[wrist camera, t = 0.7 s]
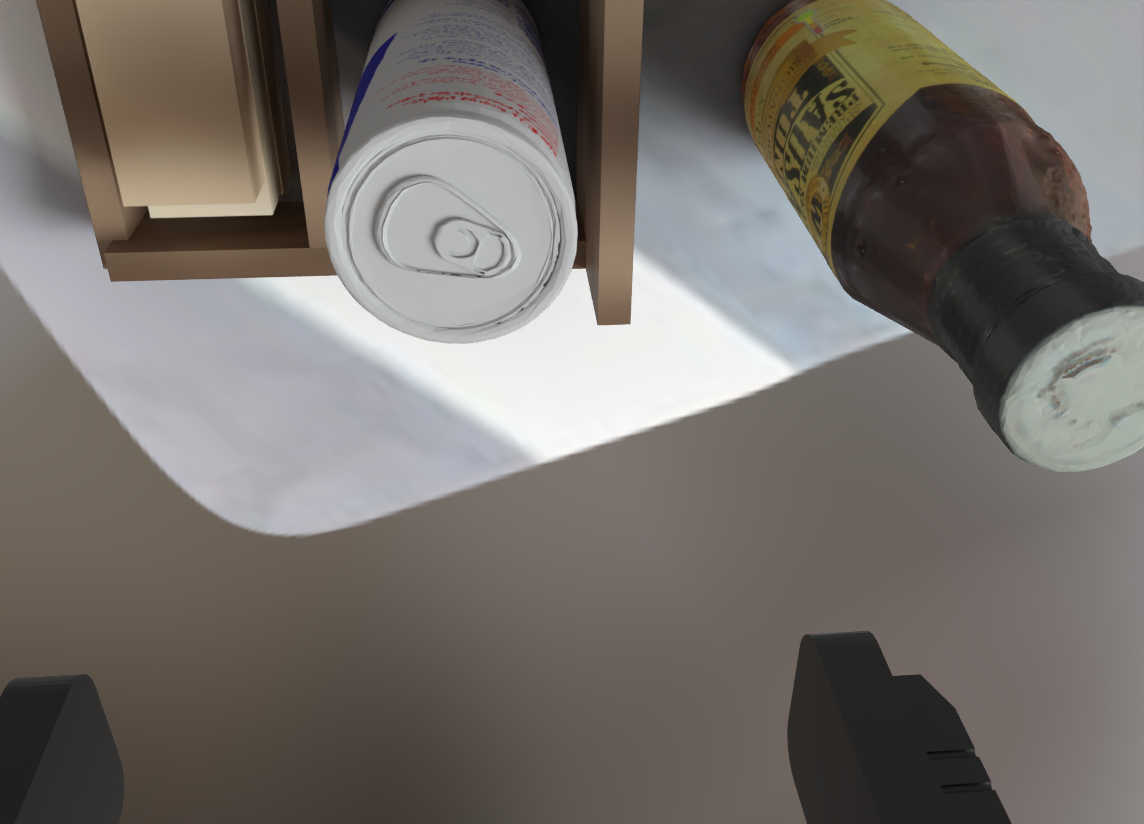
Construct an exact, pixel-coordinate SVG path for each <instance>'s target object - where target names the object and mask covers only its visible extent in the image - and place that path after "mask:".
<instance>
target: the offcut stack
mask: <svg viewBox="0 0 1144 824" xmlns="http://www.w3.org/2000/svg"><path fill="white" fill-rule="evenodd" d="M76 5H77V9H78V13H79V17H80V22H81V26H82V30H83V35H84V39H85V43H86V47H87V52H88V56H89V60H90V65H91V69H92V73H93V77H94V82H95V86H96V90H97V95H98V99H99V103H100V107H101V112H102V116H103V120H104V125H105V129H106V133H107V137H108V142H109V146H110V150H111V155H112V159H113V163H114V167H115V172H116V176H117V180H118V185H119V189H120V193H121V197H122V202H123V206H124V207H127V206H148V209H149V213H150V218H176V217H216V216H256V215H273V213H274V210H275V208H276V205H277V203H278V200H279V198H280V195H284V193H285V190H286V187H287V185H288V182H289V180H290V177H291V167H290V160H289V153H288V146H287V139H286V132H285V125H284V117H283V110H282V103H281V96H280V89H279V82H278V75H277V68H276V61H275V54H274V47H273V40H272V33H271V25H270V18H269V11H268V4H267V0H76Z"/></svg>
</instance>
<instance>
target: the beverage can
mask: <svg viewBox="0 0 1144 824" xmlns="http://www.w3.org/2000/svg"><path fill="white" fill-rule="evenodd" d="M324 232H325V241H326V245H327V248H328V252H329V256H330V259H331V262H332V264H333V267H334V269H335V271H336V273H337V275H338V277H339V278H340V280H341V281H342V283H343V285H344V286H345V288H346V289H347V290H348V291H349V293H350V294H351V295H352V297H353V298H354V299H355V300H356V301H357V302H358V303H359V304H360V305H361V306H362V307H363V308H364V309H366V310H367V311H368V312H369V313H371V314H372V315H373V316H375V317H376V318H377V319H379V320H380V321H382V322H384V323H385V324H387V325H388V326H390V327H392V328H394V329H397V330H399V331H401V332H403V333H406V334H409V335H412V336H415V337H417V338H420V339H424V340H428V341H435V342H442V343H464V344H465V343H474V342H481V341H486V340H490V339H495V338H498V337H501V336H504V335H506V334H509V333H511V332H513V331H515V330H517V329H520V328H522V327H523V326H525V325H527V324H528V323H530V322H531V321H532V320H534V319H535V318H536V317H537V316H538V315H540V314H541V313H542V312H543V311H544V310H545V309H547V308H548V307H549V306H550V305H551V303H552V302H553V301H554V300H555V299H556V297H557V296H558V295H559V294H560V292H561V290H562V288H563V287H564V285H565V283H566V281H567V279H568V277H569V275H570V273H571V270H572V267H573V263H574V259H575V256H576V250H577V236H578V231H577V220H576V210H575V198H574V193H573V187H572V183H571V178H570V173H569V169H568V164H567V159H566V155H565V150H564V145H563V141H562V136H561V131H560V127H559V122H558V117H557V113H556V108H555V104H554V99H553V94H552V90H551V85H550V80H549V76H548V71H547V66H546V62H545V57H544V52H543V48H542V43H541V39H540V35H539V32H538V29H537V26H536V24H535V22H534V19H533V17H532V16H531V14H530V12H529V11H528V9H527V8H526V6H525V5H524V4H523V2H522V1H521V0H390V1H389V2H388V3H387V5H386V6H385V8H384V10H383V11H382V13H381V15H380V17H379V19H378V22H377V25H376V27H375V30H374V35H373V39H372V42H371V46H370V49H369V52H368V56H367V59H366V62H365V66H364V69H363V72H362V75H361V79H360V82H359V85H358V89H357V92H356V95H355V99H354V102H353V105H352V109H351V112H350V115H349V119H348V122H347V125H346V129H345V132H344V135H343V139H342V142H341V145H340V149H339V152H338V155H337V159H336V162H335V165H334V169H333V172H332V176H331V179H330V183H329V187H328V194H327V201H326V205H325V217H324Z"/></svg>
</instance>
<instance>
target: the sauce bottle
mask: <svg viewBox="0 0 1144 824" xmlns="http://www.w3.org/2000/svg"><path fill="white" fill-rule="evenodd" d="M741 93H742V102H743V104H744V108H745V115H746V122H747V126H748V129H749V131H750V134H751V137H752V139H753V141H754V143H755V145H756V146H757V148H758V150H759V151H760V153H761V155H762V156H763V158H764V160H765V161H766V163H767V164H768V166H769V168H770V169H771V171H772V173H773V174H774V176H775V178H776V179H777V181H778V182H779V184H780V186H781V187H782V189H783V190H784V192H785V194H786V196H787V198H788V200H789V201H790V203H791V204H792V206H793V207H794V209H795V210H796V212H797V213H798V215H799V217H800V218H801V220H802V221H803V223H804V225H805V227H806V228H807V230H808V231H809V233H810V234H811V236H812V238H813V239H814V241H815V243H816V244H817V246H818V248H819V249H820V251H821V253H822V254H823V256H824V258H825V259H826V261H827V264H828V265H829V267H830V269H831V270H832V272H833V274H834V275H835V277H836V278H837V279H838V281H839V282H840V284H841V286H842V287H843V289H844V290H845V291H846V292H847V293H848V294H849V295H850V296H851V297H852V298H853V299H855V300H857V301H858V302H860V303H862V304H864V305H866V306H867V307H869V308H871V309H873V310H875V311H876V312H878V313H880V314H882V315H884V316H886V317H887V318H889V319H891V320H893V321H895V322H896V323H898V324H900V325H902V326H904V327H905V328H907V329H909V330H911V331H913V332H914V333H916V334H918V335H920V336H922V337H924V338H925V339H927V340H929V341H931V342H933V343H935V344H936V345H938V346H940V347H941V348H942V349H943V350H944V351H945V352H946V353H947V354H948V355H949V356H950V357H951V358H952V359H953V360H955V361H956V362H957V363H958V365H959V367H960V368H961V370H962V371H963V372H964V374H965V375H966V376H967V378H968V379H969V380H970V382H971V383H972V385H973V389H974V396H975V400H976V403H977V407H978V409H979V411H980V412H981V414H982V415H983V417H984V418H985V420H986V421H987V422H988V424H989V425H990V427H991V428H992V430H993V431H994V432H995V433H996V434H997V435H998V436H999V438H1000V439H1001V440H1002V442H1003V443H1004V444H1005V445H1006V446H1007V448H1008V449H1009V450H1010V451H1011V452H1012V453H1013V454H1014V455H1016V456H1017V457H1019V458H1020V459H1022V460H1025V461H1026V462H1029V463H1031V464H1033V465H1035V466H1038V467H1041V468H1044V469H1048V470H1051V471H1070V472H1077V471H1083V470H1088V469H1095V468H1098V467H1102V466H1105V465H1108V464H1111V463H1113V462H1115V461H1118V460H1120V459H1122V458H1124V457H1127V456H1129V455H1132V454H1134V453H1135V452H1136V451H1138V450H1139V449H1141V448H1142V447H1143V446H1144V282H1142V281H1140V280H1138V279H1135V278H1133V277H1130V276H1128V275H1122V274H1119V273H1118V272H1117V271H1116V269H1115V268H1114V267H1113V266H1112V265H1111V264H1110V262H1108V261H1107V260H1106V259H1104V258H1103V257H1101V256H1100V255H1099V253H1098V251H1097V249H1096V248H1095V246H1094V245H1093V244H1092V240H1091V237H1090V236H1091V230H1092V226H1091V225H1090V218H1089V205H1088V200H1087V193H1086V189H1085V187H1084V185H1083V184H1082V180H1081V177H1080V173H1079V172H1078V170H1077V169H1076V167H1075V165H1074V163H1073V161H1072V160H1071V159H1070V158H1069V156H1068V155H1067V153H1066V152H1065V150H1064V149H1063V148H1062V147H1061V145H1060V144H1059V143H1058V142H1056V141H1055V140H1054V138H1053V136H1052V135H1051V134H1050V133H1048V132H1046V131H1045V130H1043V129H1042V128H1040V127H1039V126H1037V125H1036V124H1035V122H1034V121H1033V119H1032V118H1031V117H1030V116H1029V114H1028V113H1027V112H1026V111H1025V110H1024V109H1023V108H1022V107H1021V106H1020V105H1019V104H1018V103H1017V102H1016V101H1014V100H1013V99H1012V98H1011V97H1009V96H1008V95H1007V94H1006V93H1004V92H1003V91H1002V90H1001V89H999V88H998V87H997V86H996V85H995V84H993V83H992V82H991V81H990V80H988V79H987V78H986V77H985V76H983V75H982V74H981V73H979V72H978V71H977V70H976V69H974V68H973V67H972V66H971V65H969V64H968V63H967V62H966V61H965V60H963V59H962V58H961V57H960V56H958V55H957V54H956V53H955V52H953V51H952V50H951V49H950V48H949V47H947V46H946V45H945V44H944V43H942V42H941V41H940V40H939V39H937V38H936V37H935V36H934V35H933V34H932V33H931V32H930V31H928V30H927V29H926V28H925V27H923V26H922V25H921V24H919V23H918V22H917V21H915V20H914V19H913V18H912V17H911V16H910V15H908V14H907V13H905V12H904V11H903V10H901V9H900V8H898V7H897V6H895V5H893V4H892V3H890V2H887V1H885V0H792V1H790V2H789V3H787V4H786V5H785V6H784V7H783V8H781V9H780V10H779V11H778V12H777V13H775V14H774V15H773V16H772V17H770V18H769V20H768V21H767V22H766V23H765V25H764V26H763V27H762V29H761V31H760V32H759V34H758V36H757V37H756V39H755V42H754V44H753V46H752V47H751V50H750V52H749V54H748V57H747V61H746V63H745V65H744V69H743V80H742V84H741Z"/></svg>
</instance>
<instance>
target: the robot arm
mask: <svg viewBox="0 0 1144 824" xmlns="http://www.w3.org/2000/svg"><path fill="white" fill-rule="evenodd" d="M787 733H788V734H787V737H788V752H789V760H790V766H791V771H792V775H793V778H794V782H795V786H796V789H797V792H798V796H799V799H800V802H801V805H802V809H803V812H804V815H805V819H806V822H807V824H1011V822H1010V819H1009V818H1008V816H1007V813H1006V811H1005V809H1004V807H1003V805H1002V803H1001V801H1000V799H999V797H998V795H997V793H996V791H995V790H992V788H991V781H990V779H989V777H988V775H987V772H986V770H985V768H984V766H983V764H982V762H981V760H980V758H979V757H976V755H975V748H974V746H973V744H972V742H971V740H970V738H969V736H968V734H967V732H966V730H965V727H964V726H963V723H962V721H961V720H960V717H959V715H958V713H957V711H956V709H955V708H954V707H953V706H952V705H951V704H950V703H949V702H948V701H947V700H946V699H945V698H944V697H943V696H942V695H941V694H940V693H939V692H938V691H937V690H936V689H934V687H933V686H932V685H931V684H930V683H929V682H927V681H926V680H925V679H924V678H923V677H922V676H921V675H903V676H892V674H891V672H890V669H889V667H888V665H887V663H886V660H885V658H884V656H883V653H882V651H881V649H880V647H879V644H878V642H877V640H876V639H875V637H874V636H873V634H872V633H870V632H869V631H858V632H842V633H823V634H806V635H804V636H803V638H802V640H801V643H800V649H799V655H798V661H797V668H796V674H795V680H794V687H793V694H792V699H791V706H790V712H789V719H788V729H787ZM123 800H124V773H123V767H122V763H121V759H120V756H119V753H118V750H117V747H116V745H115V742H114V739H113V736H112V733H111V730H110V727H109V724H108V722H107V718H106V716H105V713H104V710H103V707H102V704H101V701H100V698H99V695H98V692H97V689H96V686H95V684H94V682H93V680H92V679H91V677H90V676H88V675H86V674H78V675H61V676H44V677H26V678H15V679H13V680H12V681H11V682H9V684H8V685H7V686H6V687H5V689H4V691H3V693H2V695H1V697H0V824H119V821H120V817H121V813H122V807H123Z"/></svg>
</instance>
